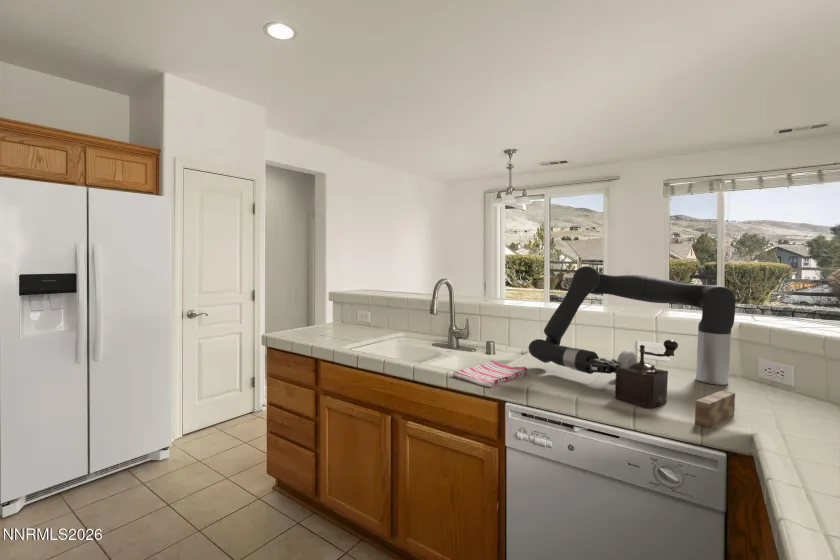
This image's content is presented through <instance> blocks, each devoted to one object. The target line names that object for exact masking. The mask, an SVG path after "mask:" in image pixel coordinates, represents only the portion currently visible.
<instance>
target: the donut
mask: <svg viewBox="0 0 840 560" xmlns="http://www.w3.org/2000/svg"><path fill="white" fill-rule="evenodd" d="M616 361H618V362H620V363H621V366H628V365H631V364H634V363H638V356H637V355H636V353H635V352H634V351H632V349H625V350H623V351H621V352H620V353H619V355H618V356H617V359H616Z"/></svg>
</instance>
